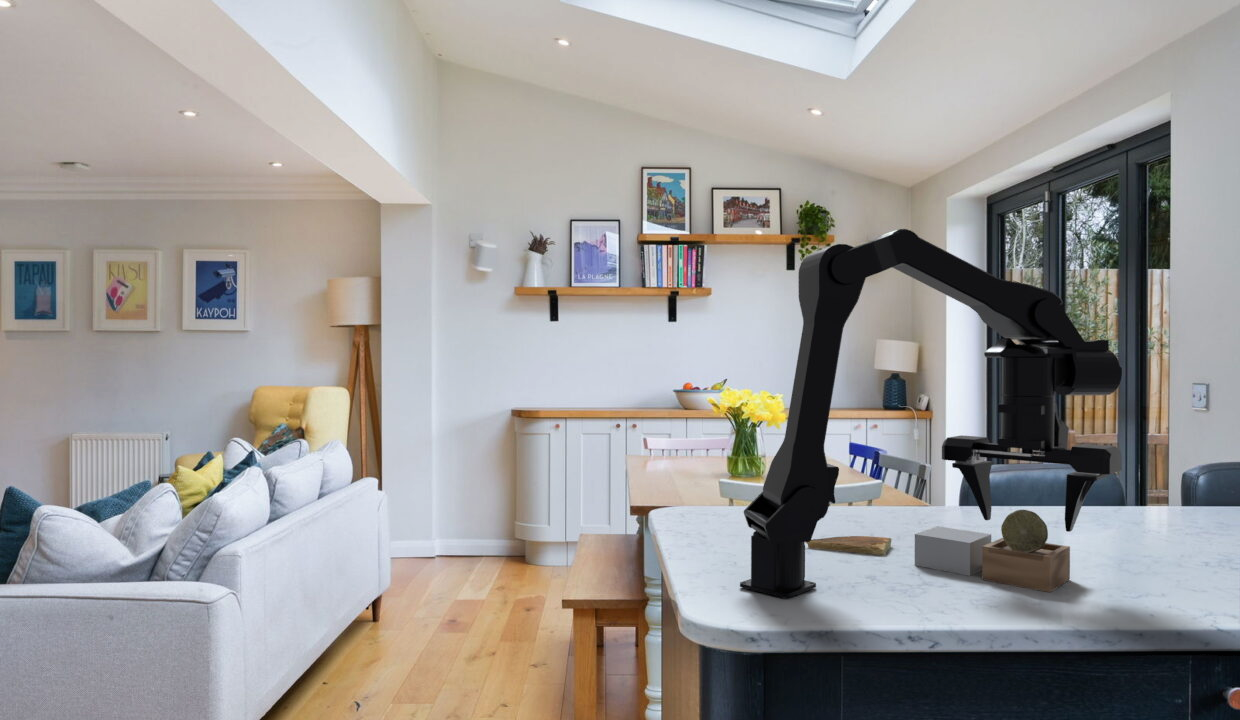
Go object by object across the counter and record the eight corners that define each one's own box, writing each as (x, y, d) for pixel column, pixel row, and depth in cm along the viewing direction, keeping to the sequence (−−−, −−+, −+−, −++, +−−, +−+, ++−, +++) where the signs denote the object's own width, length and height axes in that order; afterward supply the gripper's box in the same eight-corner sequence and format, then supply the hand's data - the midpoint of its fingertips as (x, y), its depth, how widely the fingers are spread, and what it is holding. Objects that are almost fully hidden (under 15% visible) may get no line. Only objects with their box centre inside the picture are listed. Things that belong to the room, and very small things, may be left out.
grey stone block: (969, 575, 100) (970, 542, 99) (914, 565, 104) (914, 534, 104) (991, 565, 104) (991, 534, 104) (937, 555, 109) (937, 526, 109)
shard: (804, 550, 114) (804, 537, 114) (817, 540, 121) (817, 528, 121) (884, 559, 109) (884, 546, 109) (893, 548, 116) (893, 535, 116)
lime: (1053, 556, 96) (1054, 513, 96) (1012, 555, 96) (1013, 513, 96) (1034, 547, 100) (1034, 506, 100) (995, 547, 100) (995, 506, 100)
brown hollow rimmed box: (1049, 592, 92) (1049, 557, 92) (982, 579, 98) (982, 546, 98) (1069, 579, 98) (1069, 546, 98) (1004, 568, 103) (1004, 536, 103)
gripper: (1133, 396, 97) (1133, 527, 97) (974, 391, 110) (973, 506, 110) (1108, 399, 89) (1108, 541, 89) (940, 393, 102) (939, 518, 102)
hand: (1026, 525), depth 98 cm, fingers open, 9 cm apart
